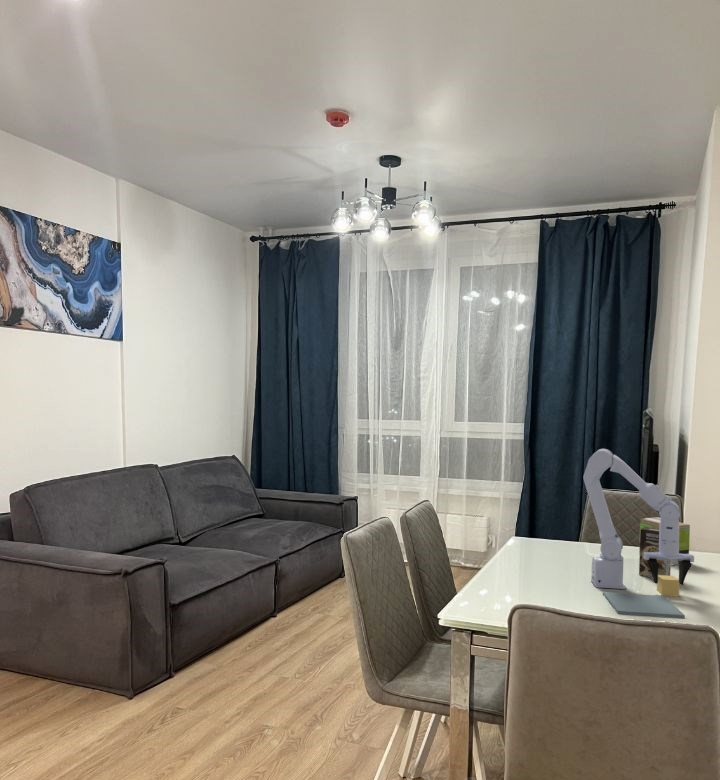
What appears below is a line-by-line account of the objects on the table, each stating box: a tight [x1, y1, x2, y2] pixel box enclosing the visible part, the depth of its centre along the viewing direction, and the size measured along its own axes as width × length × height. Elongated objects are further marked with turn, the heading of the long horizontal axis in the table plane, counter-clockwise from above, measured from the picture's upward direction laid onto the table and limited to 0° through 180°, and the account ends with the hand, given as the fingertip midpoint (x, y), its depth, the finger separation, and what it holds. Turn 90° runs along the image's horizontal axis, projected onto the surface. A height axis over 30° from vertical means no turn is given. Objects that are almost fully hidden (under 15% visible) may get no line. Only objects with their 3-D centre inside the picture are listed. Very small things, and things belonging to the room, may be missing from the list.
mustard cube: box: [656, 575, 680, 597], centre depth 209 cm, size 5×5×5 cm
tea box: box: [638, 516, 691, 565], centre depth 253 cm, size 15×10×15 cm, turn 25°
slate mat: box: [602, 591, 686, 619], centre depth 196 cm, size 18×18×1 cm
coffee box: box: [638, 527, 672, 579], centre depth 229 cm, size 9×6×16 cm
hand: (668, 583), depth 209 cm, fingers open, 7 cm apart
